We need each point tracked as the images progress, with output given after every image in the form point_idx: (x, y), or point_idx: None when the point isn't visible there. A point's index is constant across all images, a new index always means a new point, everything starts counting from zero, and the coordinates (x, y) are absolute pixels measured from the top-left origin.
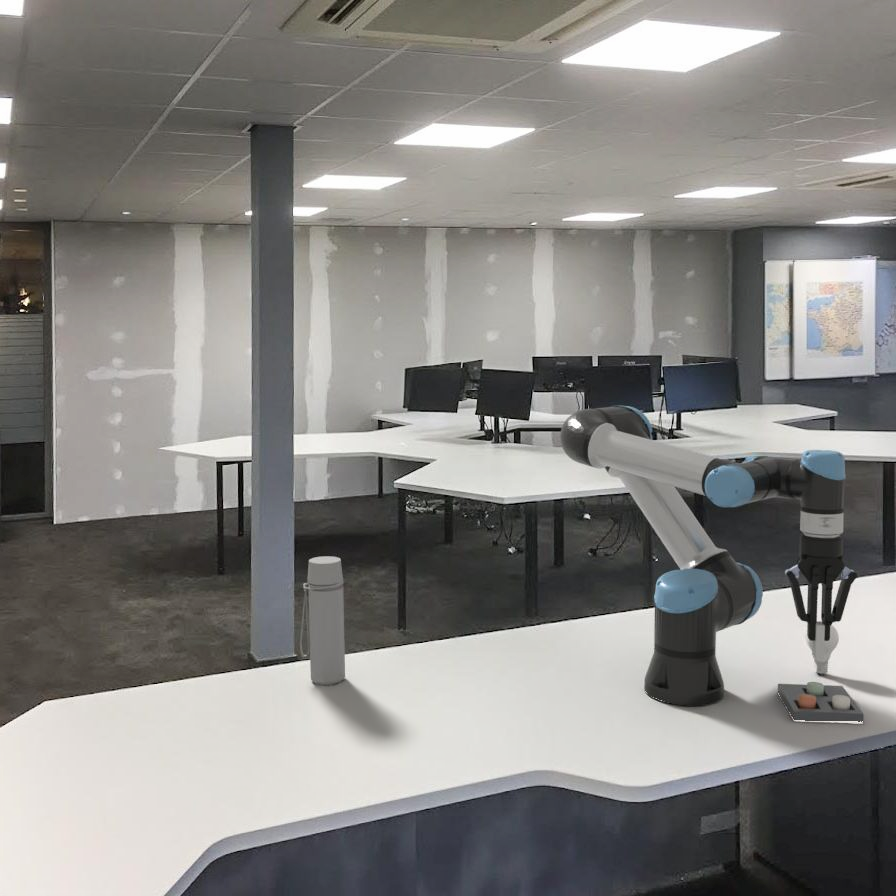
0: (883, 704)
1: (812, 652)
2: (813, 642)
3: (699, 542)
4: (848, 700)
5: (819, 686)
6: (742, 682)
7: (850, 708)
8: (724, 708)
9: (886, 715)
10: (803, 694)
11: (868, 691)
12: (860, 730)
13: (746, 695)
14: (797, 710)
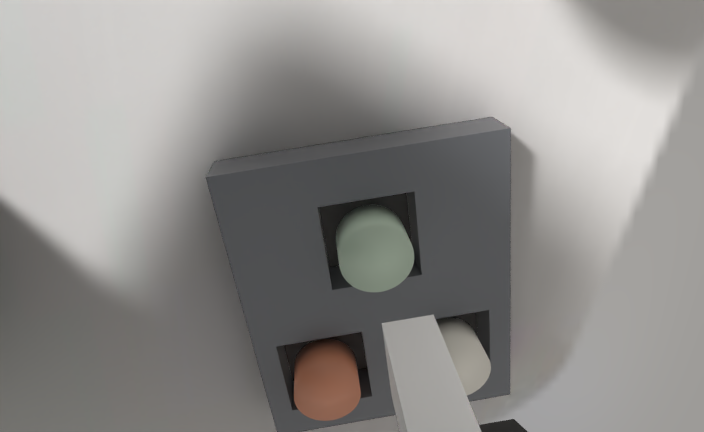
0: (631, 172)
1: (385, 341)
2: (401, 417)
3: None
4: (479, 387)
5: (392, 277)
6: (22, 39)
7: (483, 315)
8: (27, 364)
9: (598, 275)
10: (314, 379)
11: (630, 22)
12: (475, 406)
13: (81, 215)
14: (289, 428)
